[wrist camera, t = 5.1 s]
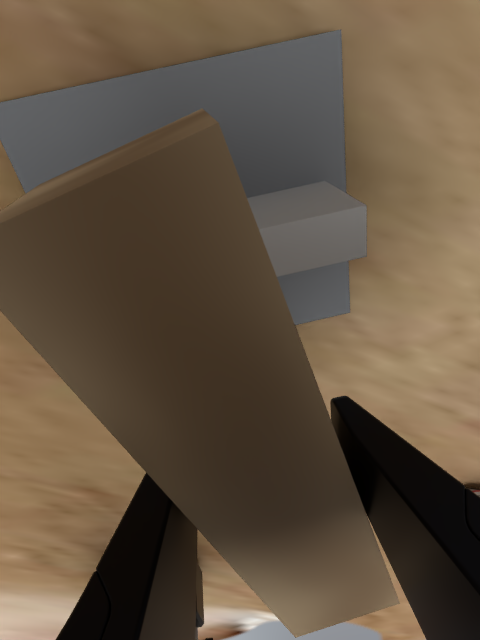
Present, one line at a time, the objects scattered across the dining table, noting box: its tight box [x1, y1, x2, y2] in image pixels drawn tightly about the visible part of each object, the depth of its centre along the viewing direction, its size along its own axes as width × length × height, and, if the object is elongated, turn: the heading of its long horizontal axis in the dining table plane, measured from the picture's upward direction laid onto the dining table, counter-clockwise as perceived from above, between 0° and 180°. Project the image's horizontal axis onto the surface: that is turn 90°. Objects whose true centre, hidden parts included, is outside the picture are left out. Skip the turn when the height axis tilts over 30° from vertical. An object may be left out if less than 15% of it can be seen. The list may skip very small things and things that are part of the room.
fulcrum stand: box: [0, 30, 367, 325], centre depth 16 cm, size 14×13×5 cm
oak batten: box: [0, 109, 400, 638], centre depth 9 cm, size 3×14×3 cm, turn 22°
